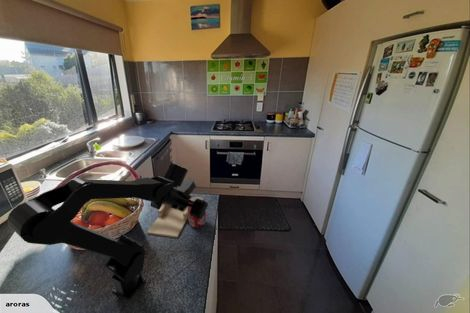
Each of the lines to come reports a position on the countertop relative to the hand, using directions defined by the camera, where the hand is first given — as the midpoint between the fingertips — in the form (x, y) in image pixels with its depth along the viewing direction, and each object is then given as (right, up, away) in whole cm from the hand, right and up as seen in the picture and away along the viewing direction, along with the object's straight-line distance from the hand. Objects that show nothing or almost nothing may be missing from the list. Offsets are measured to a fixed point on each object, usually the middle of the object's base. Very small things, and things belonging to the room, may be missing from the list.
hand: (194, 207), depth 80 cm
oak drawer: (-11, -7, +6) cm, 14 cm away
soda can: (0, -8, +4) cm, 9 cm away
